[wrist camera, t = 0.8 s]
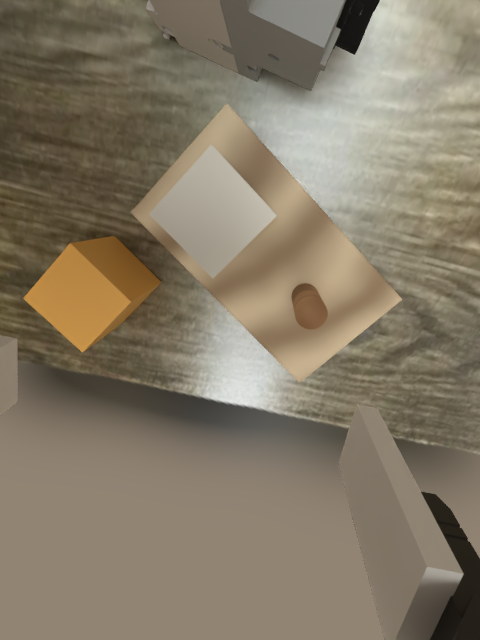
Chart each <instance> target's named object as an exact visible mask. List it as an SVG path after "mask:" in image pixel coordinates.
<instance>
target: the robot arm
mask: <svg viewBox="0 0 480 640" xmlns="http://www.w3.org/2000/svg"><path fill="white" fill-rule="evenodd" d="M17 383H18V382H17V338H12V337H7V336H2V335H0V415H1V414H2V413H4V412H5V411H6V410H7V409H8V408H10V407H11V406H12V405H14V404H15V403H16V402H17V401H18V384H17ZM338 465H339V469H340V473H341V477H342V481H343V484H344V488H345V492H346V496H347V499H348V503H349V507H350V511H351V515H352V519H353V522H354V526H355V530H356V534H357V538H358V541H359V545H360V549H361V553H362V556H363V561H364V564H365V568H366V572H367V575H368V579H369V583H370V587H371V591H372V595H373V598H374V602H375V606H376V610H377V614H378V618H379V621H380V625H381V629H382V633H383V637H384V640H480V558H479V557H478V555H477V553H476V552H475V550H474V548H473V547H472V545H471V543H470V542H468V540H467V539H468V538H467V536H466V535H465V533H464V531H463V530H462V528H460V525H459V523H458V521H457V520H456V518H455V516H454V514H453V513H452V511H451V509H450V508H448V506H446V504H444V502H442V500H441V499H440V498H439V497H438V496H436V495H435V494H431V493H425V492H421V491H420V490H419V488H418V486H417V484H416V482H415V480H414V478H413V476H412V474H411V472H410V470H409V468H408V467H407V465H406V463H405V461H404V459H403V457H402V455H401V453H400V451H399V449H398V447H397V446H396V444H395V442H394V440H393V438H392V436H391V434H390V432H389V430H388V428H387V426H386V425H385V423H384V421H383V419H382V417H381V415H380V413H379V411H378V409H377V408H374V407H369V406H363V405H358V404H357V405H356V408H355V411H354V415H353V418H352V421H351V424H350V428H349V431H348V434H347V437H346V441H345V444H344V447H343V451H342V454H341V457H340V460H339V463H338Z"/></svg>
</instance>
